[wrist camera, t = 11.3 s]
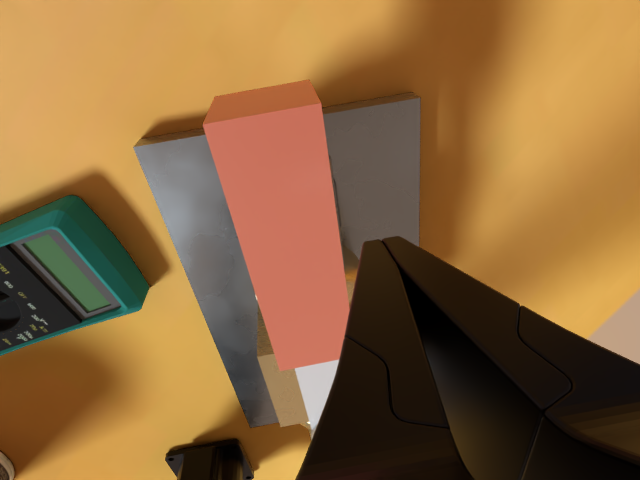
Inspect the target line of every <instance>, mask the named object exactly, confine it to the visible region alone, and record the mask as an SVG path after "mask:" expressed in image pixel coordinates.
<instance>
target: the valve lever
mask: <svg viewBox="0 0 640 480" xmlns="http://www.w3.org/2000/svg"><path fill="white" fill-rule="evenodd" d="M203 128H204V131H205V134H206V137H207V141H208V144H209V147H210V150H211V153H212V157H213V160H214V163H215V166H216V169H217V172H218V176H219V179H220V182H221V185H222V188H223V192H224V195H225V198H226V201H227V204H228V208H229V211H230V214H231V217H232V220H233V224H234V227H235V230H236V233H237V236H238V239H239V243H240V246H241V249H242V252H243V255H244V259H245V262H246V265H247V268H248V271H249V275H250V278H251V281H252V284H253V287H254V290H255V294H256V297H257V300H258V303H259V306H260V310H261V313H262V316H263V319H264V322H265V326H266V329H267V332H268V335H269V338H270V341H271V345H272V348H273V351H274V354H275V357H276V361H277V364H278V367H279V370H280V371H284V370H289V369H294V368H295V372H296V375H297V379H298V383H299V386H300V390H301V393H302V397H303V400H304V404H305V408H306V411H307V415H308V418H309V422H310V426H311V440H312V438H313V435H314V432H315V430H316V427H317V424H318V422H319V419H320V416H321V414H322V411H323V409H324V406H325V403H326V401H327V398H328V395H329V392H330V389H331V386H332V383H333V380H334V377H335V374H336V370H337V366H338V362H339V358H340V354H341V349H342V344H343V340H344V335H345V330H346V325H347V320H348V315H349V310H350V308H349V301H348V293H347V286H346V279H345V272H344V265H343V257H342V250H341V243H340V236H339V228H338V221H337V214H336V207H335V199H334V192H333V185H332V178H331V170H330V163H329V156H328V149H327V141H326V134H325V127H324V120H323V112H322V105H321V102H320V100H319V98H318V96H317V94H316V92H315V90H314V88H313V86H312V84H311V82H310V80H304V81H299V82H293V83H288V84H282V85H276V86H271V87H265V88H260V89H254V90H249V91H243V92H237V93H232V94H226V95H221V96H215V97H214V100H213V102H212V104H211V106H210V109H209V111H208V113H207V115H206V118H205V120H204V122H203Z"/></svg>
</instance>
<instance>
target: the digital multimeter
mask: <svg viewBox="0 0 640 480" xmlns="http://www.w3.org/2000/svg"><path fill="white" fill-rule="evenodd" d="M2 246H3V247H2ZM148 290H149V286H148V283H147V282H146V280H145V279H144V277H143V275H142V274H141V272H140V271H139V269H138V268H137V266H136V265H135V263H134V262H133V260H132V259H131V257H130V256H129V254H128V253H127V251H126V250H125V249H124V247H123V246H122V245H121V244H120V242H119V241H118V240H117V238H116V237H115V236H114V235H113V233H112V232H111V231H110V230H109V229H108V228H107V227H106V225H105V224H104V223H103V222H102V221H101V220H100V219H99V217H98V216H97V215H96V214H95V213H94V212H93V211H92V210H91V209H90V208H89V207H88V206H87V205H86V204H85V202H84V201H83V200H81V199H80V198H79V197H77V196H74V195H69V196H65V197H63V198H61V199H59V200H56V201H54V202H52V203H49V204H47V205H45V206H43V207H40V208H38V209H36V210H33V211H31V212H29V213H27V214H24V215H22V216H20V217H17V218H15V219H13V220H11V221H8V222H6V223H4V224H1V225H0V356H1V355H4V354H6V353H9V352H12V351H14V350H17V349H20V348H22V347H25V346H27V345H30V344H33V343H36V342H39V341H42V340H46V339H49V338H52V337H55V336H58V335H61V334H64V333H67V332H70V331H73V330H76V329H79V328H82V327H86V326H89V325H92V324H96V323H99V322H103V321H106V320H109V319H113V318H116V317H120V316H123V315H126V314H130V313H133V312H137V311H139V310H140V309H141V308H142V305H143V303H144V300H145V298H146V295H147V293H148ZM19 326H20V327H19ZM15 329H16V330H15Z"/></svg>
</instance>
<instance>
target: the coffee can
mask: <svg viewBox="0 0 640 480" xmlns="http://www.w3.org/2000/svg"><path fill="white" fill-rule="evenodd" d="M13 478H14V467H13V465H12V463H11V461H10V460H9V459H8V458H7V457H6V456H5V455H4V454H3V453H2V452H1V451H0V480H13Z"/></svg>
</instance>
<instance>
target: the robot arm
mask: <svg viewBox="0 0 640 480" xmlns="http://www.w3.org/2000/svg"><path fill="white" fill-rule="evenodd" d="M165 461H166V462H167V463H168V465H169V466H170V468H171V469H172V471H173V472H174V474H175V475H176V476H177V480H252V479H253V478H254V472H253V469H252V467H251V465H250V463H249V461H248V459H247V456H246V454H245V452H244V450H243V448H242V446H241V443H240V441H239V440H236V439H233V440H228V441H223V442H217V443H212V444H207V445H202V446H197V447H192V448H187V449H182V450H177V451H171V452H168V453H167V454H166V457H165ZM295 480H640V364H638V363H635V362H633V361H631V360H629V359H627V358H625V357H623V356H621V355H618V354H616V353H614V352H612V351H610V350H608V349H606V348H604V347H601V346H599V345H597V344H595V343H593V342H591V341H589V340H587V339H585V338H583V337H581V336H579V335H577V334H575V333H573V332H571V331H569V330H567V329H565V328H563V327H561V326H559V325H557V324H555V323H554V322H552V321H550V320H548V319H546V318H544V317H542V316H541V315H539V314H537V313H535V312H533V311H532V310H530V309H528V308H526V307H525V306H520V304H519V303H517V302H515V301H514V300H512V299H510V298H508V297H507V296H505V295H503V294H501V293H500V292H498V291H496V290H494V289H492V288H491V287H489V286H487V285H485V284H484V283H482V282H480V281H478V280H477V279H475V278H473V277H471V276H469V275H468V274H466V273H464V272H462V271H461V270H459V269H457V268H455V267H454V266H452V265H450V264H448V263H446V262H445V261H443V260H441V259H439V258H438V257H436V256H434V255H432V254H431V253H429V252H427V251H425V250H423V249H422V248H420V247H418V246H416V245H415V244H413V243H411V242H409V241H408V240H406V239H404V238H402V237H400V236H393V237H388V238H383V239H382V241H381V240H380V239H376V240H371V241H365V242H363V245H362V250H361V255H360V260H359V265H358V270H357V275H356V280H355V285H354V290H353V295H352V300H351V305H350V310H349V315H348V320H347V325H346V330H345V335H344V340H343V344H342V349H341V354H340V358H339V362H338V366H337V370H336V374H335V377H334V380H333V383H332V386H331V389H330V392H329V395H328V398H327V401H326V403H325V406H324V409H323V411H322V414H321V416H320V419H319V422H318V424H317V427H316V430H315V432H314V435H313V438H312V440H311V443H310V446H309V448H308V451H307V453H306V456H305V459H304V461H303V463H302V466H301V468H300V470H299V473H298V475H297V477H296V479H295Z"/></svg>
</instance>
